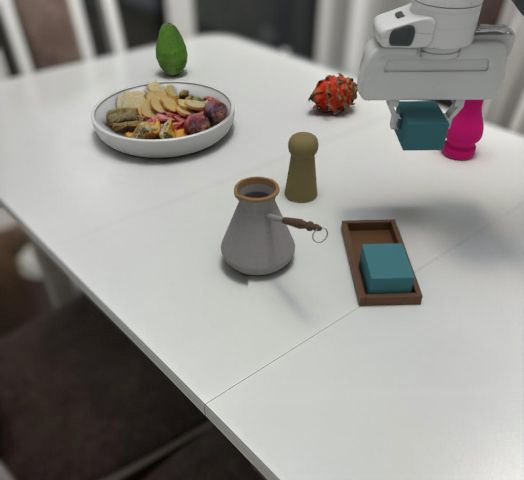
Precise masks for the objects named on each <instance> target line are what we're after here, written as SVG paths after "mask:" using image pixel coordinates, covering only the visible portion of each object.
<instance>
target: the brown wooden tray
mask: <svg viewBox="0 0 524 480" xmlns="http://www.w3.org/2000/svg"><path fill="white" fill-rule="evenodd" d="M340 231H341V235H342V241H343V243H344V248H345V252H346V256H347V260H348V266H349V269H350V273H351V277H352V282H353V286H354V287H353V288H354V291H355V295H356V299H357V303H358V304H357V305H358V307H378V306H406V305H407V306H413V305H421V304H422V300H423V292H422V290H421V287H420V284H419V282H418V279H417V275H416V273H415V270H414V267H413V265H412V262H411V260H410V257H409V254H408V252H407V248H406V246H405V243H404V240H403V237H402V235H401V233H400V229H399V227H398V223H397V222H396V219H395V218H391V219H390V218H389V219H388V218H387V219H358V220H357V219H355V220H354V219H353V220H352V219H351V220H341V224H340ZM393 243H402V244H403V246H404V249H405V252H406V255H407V258H408V260H409V263H410V266H411V269H412V271H413V274H414V277H415V278H414V282H413V286H412V290H411V293H393V294H366V292H365V288H364V284H363V280H362V276H361V272H360V268H359V262H360V255H361V249H362V244H393Z"/></svg>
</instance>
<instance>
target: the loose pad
mask: <svg viewBox="0 0 524 480" xmlns="http://www.w3.org/2000/svg"><path fill="white" fill-rule="evenodd" d="M395 111H396V113H397V114H401V115H402V117H403V122H402V124H401V125H402V127H401V129H393V131H394V132H395V136H396V137H397V140H398V143H399V145H400V147H401V149H402V151H404V152H405V151H406V152H407V151H442V150H443V147H444V143H445V141H446V140H447V139H446V136H447V132H448V128H449V122H448V120H447V119H446V117H445V115H444V114H443V113H444V112H443V110H442V108H441V107H440V105H439V103H438V101H437V100H399V105H398V107H395Z"/></svg>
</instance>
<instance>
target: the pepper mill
mask: <svg viewBox="0 0 524 480" xmlns="http://www.w3.org/2000/svg"><path fill="white" fill-rule="evenodd" d="M483 104H484V100H465V103H464V107H463V108H462V109H461V110H460V111H459V112H458V114H457V115H456V116H455V117H454V118H453V119H452V122H451V126H450V129H448V132H447V136H446V140H445V143H444V147H443V150H441V152H442V154H443V155H444V156H445V157H447V158H449V159H452V160H454V161H455V160H456V161H467V160H470V159H472V158H473V157H474V156H475V153H476V149H477V145H476V144H477V143H478V142H480V140H482V138H483V135H484V129H485V127H484V126H485V125H484V118H483Z"/></svg>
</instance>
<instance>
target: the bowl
mask: <svg viewBox="0 0 524 480" xmlns="http://www.w3.org/2000/svg"><path fill="white" fill-rule="evenodd" d="M235 108H236V105H235V102H234V100H233V98H232V97H231V96H230V94H228V93H227V92H225V91H224V90H222V89H220V88H218V87H216V86H212V85H209V84H206V83H200V82H196V81H188V80H187V81H186V80H161V81H157V80H156V81H155V80H154V81H151V82H146V83H139V84H134V85H130V86H127V87H124V88H122V89H119V90H116V91H114V92H111V93H110V94H108V95H106V96H104V97H103V98H101V99H100V100H99V101H98V102H96V104H95V105H94V106H93V108H92V110H91V113H90V120H91V124H92V127H93V130H94V131H95V133H96V135H97V136H98V137H99V139H100V140H101V141H102V142H104V143H105V144H106V145H108V146H109V147H110V148H112V149H113V150H116V151H118V152H120V153H124V154H125V155H130V156H135V157H141V158H150V159H151V158H153V159H161V158H173V157H182V156H186V155H190V154H194V153H197V152H200V151H202V150H205V149H207V148H209V147H211V146H213V145H214V144H217V143H218V142H220V140H221V139H223V138H224V137H225V136H226V135H227V134H228V132H229V131H230V129H231V128H232V126H233V123H234V122H235V121H234V120H235V116H236V115H235V114H236V109H235Z"/></svg>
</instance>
